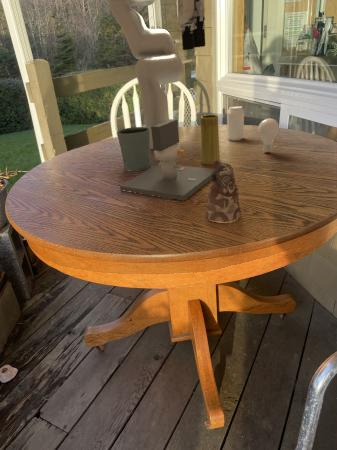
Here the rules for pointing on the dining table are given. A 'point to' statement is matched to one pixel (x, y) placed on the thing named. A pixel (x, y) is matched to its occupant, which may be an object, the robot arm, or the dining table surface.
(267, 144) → the lightbulb
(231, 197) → the figurine
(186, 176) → the post base
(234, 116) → the beverage can
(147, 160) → the grey-green cup
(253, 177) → the dining table surface
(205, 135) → the vase
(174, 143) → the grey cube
